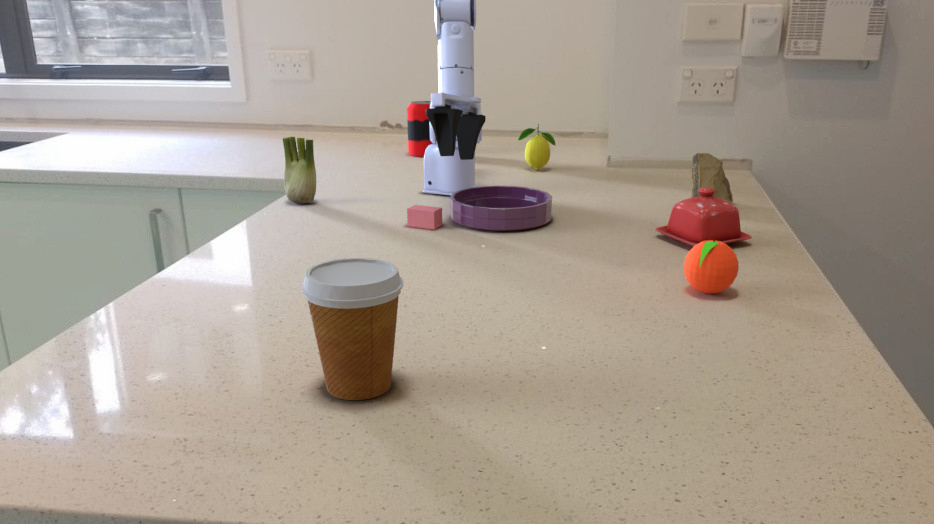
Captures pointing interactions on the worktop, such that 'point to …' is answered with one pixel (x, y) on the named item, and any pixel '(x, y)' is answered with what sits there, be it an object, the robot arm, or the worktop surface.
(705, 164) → the rock
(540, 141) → the lemon
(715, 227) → the butter dish
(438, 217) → the eraser
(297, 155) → the fennel bulb
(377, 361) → the disposable coffee cup
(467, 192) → the bowl
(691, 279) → the clementine
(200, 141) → the worktop surface
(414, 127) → the soda can
